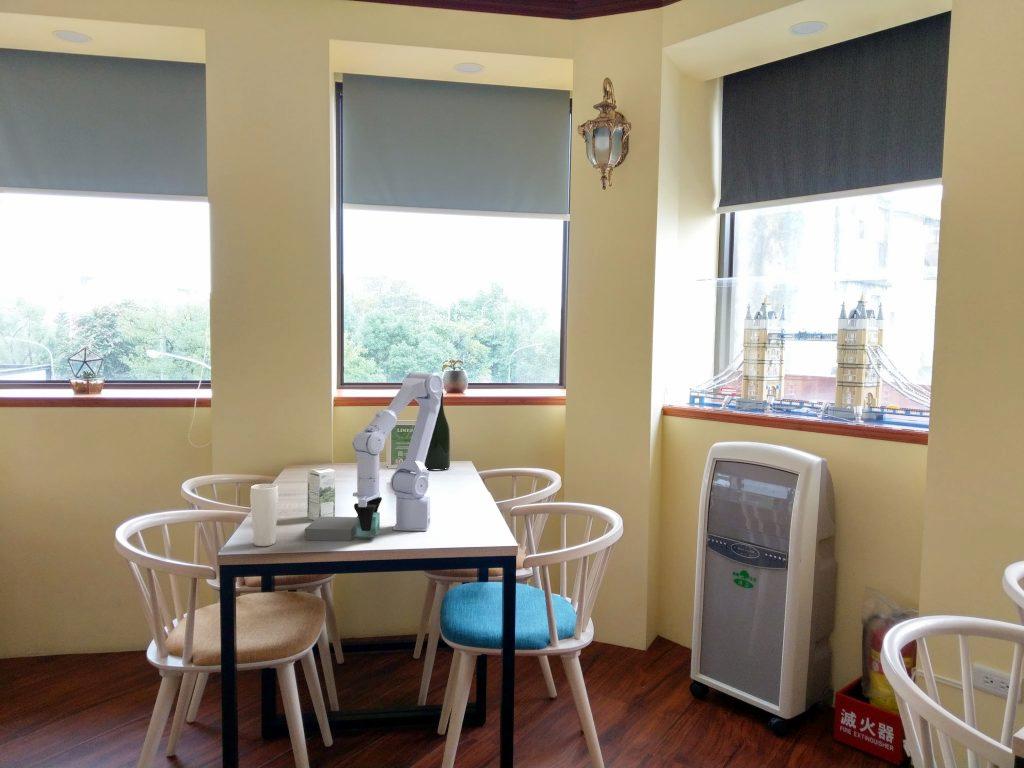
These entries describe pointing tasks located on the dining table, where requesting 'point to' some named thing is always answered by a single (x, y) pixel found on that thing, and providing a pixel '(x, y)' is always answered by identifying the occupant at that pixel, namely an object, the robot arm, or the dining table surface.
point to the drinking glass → (264, 513)
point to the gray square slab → (332, 529)
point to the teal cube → (374, 526)
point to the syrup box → (321, 493)
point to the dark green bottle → (439, 443)
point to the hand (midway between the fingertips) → (368, 527)
